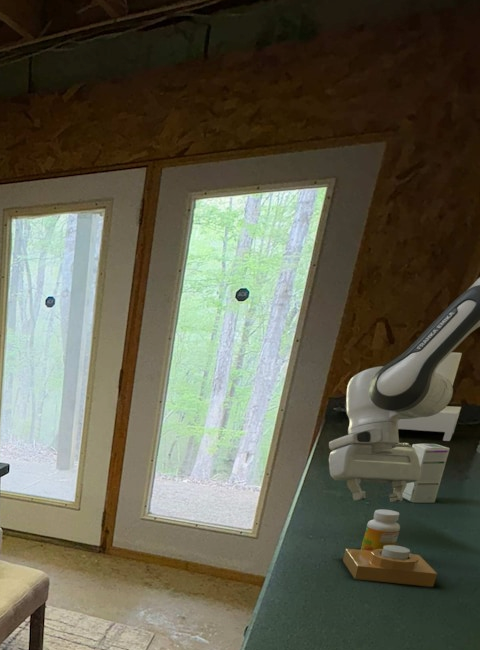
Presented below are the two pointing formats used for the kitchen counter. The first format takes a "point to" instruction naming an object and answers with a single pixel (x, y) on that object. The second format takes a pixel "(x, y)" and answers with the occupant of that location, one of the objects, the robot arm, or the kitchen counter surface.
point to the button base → (389, 568)
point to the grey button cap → (395, 552)
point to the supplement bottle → (381, 530)
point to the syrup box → (427, 473)
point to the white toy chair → (449, 414)
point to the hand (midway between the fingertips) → (377, 500)
